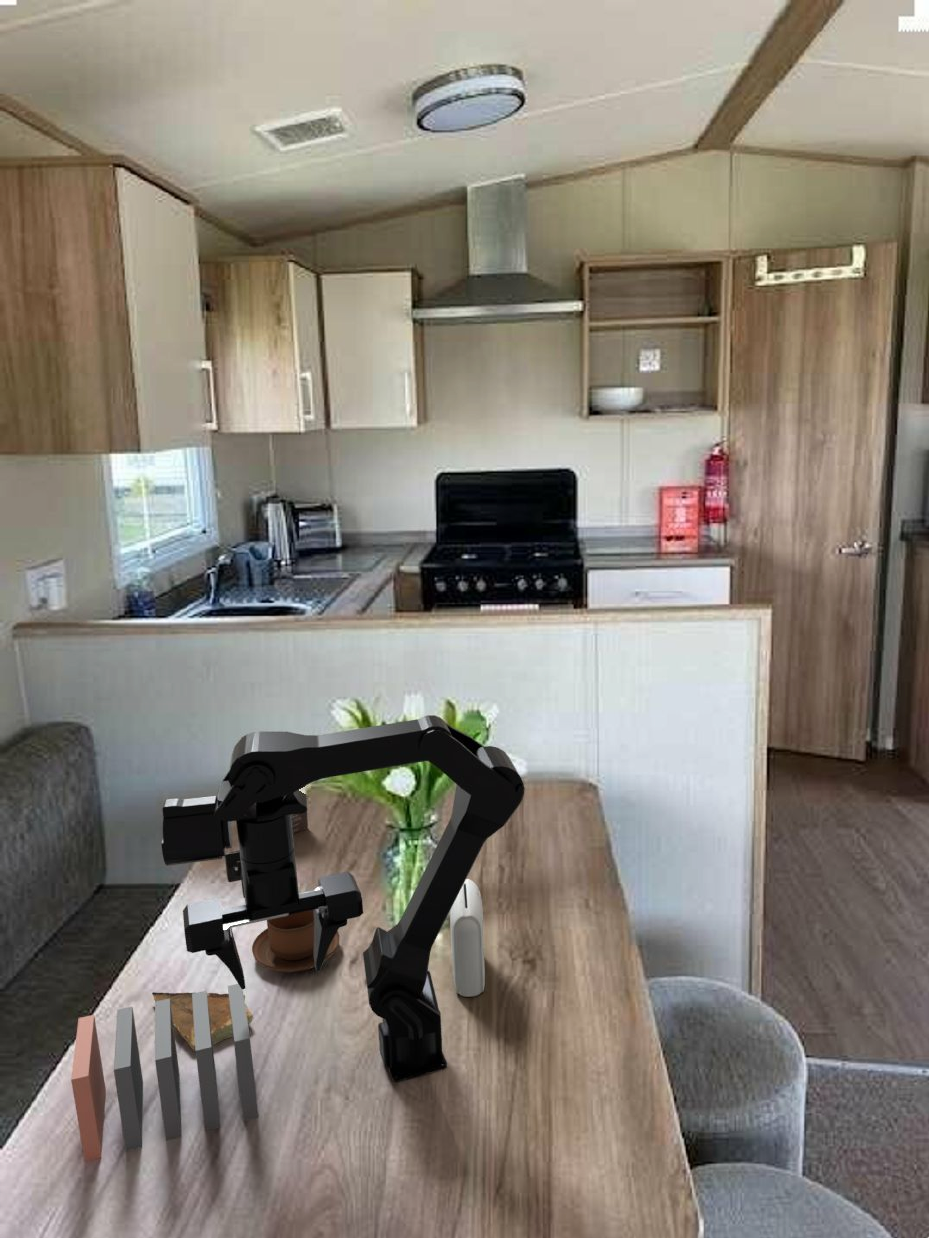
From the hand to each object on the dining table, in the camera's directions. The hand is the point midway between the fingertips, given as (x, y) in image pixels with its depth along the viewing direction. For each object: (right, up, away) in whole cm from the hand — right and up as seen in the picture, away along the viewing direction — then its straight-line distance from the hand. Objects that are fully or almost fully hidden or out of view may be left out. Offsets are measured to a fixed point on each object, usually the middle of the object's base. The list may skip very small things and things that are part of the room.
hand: (280, 978), depth 104 cm
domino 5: (-4, -13, +2) cm, 14 cm away
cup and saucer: (-3, -7, +27) cm, 28 cm away
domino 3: (-12, -14, 0) cm, 18 cm away
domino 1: (-19, -15, -3) cm, 25 cm away
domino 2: (-16, -14, -2) cm, 21 cm away
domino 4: (-8, -13, +1) cm, 16 cm away
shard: (-13, -11, +13) cm, 21 cm away
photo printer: (+21, -8, +21) cm, 30 cm away
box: (-11, +2, +63) cm, 64 cm away
